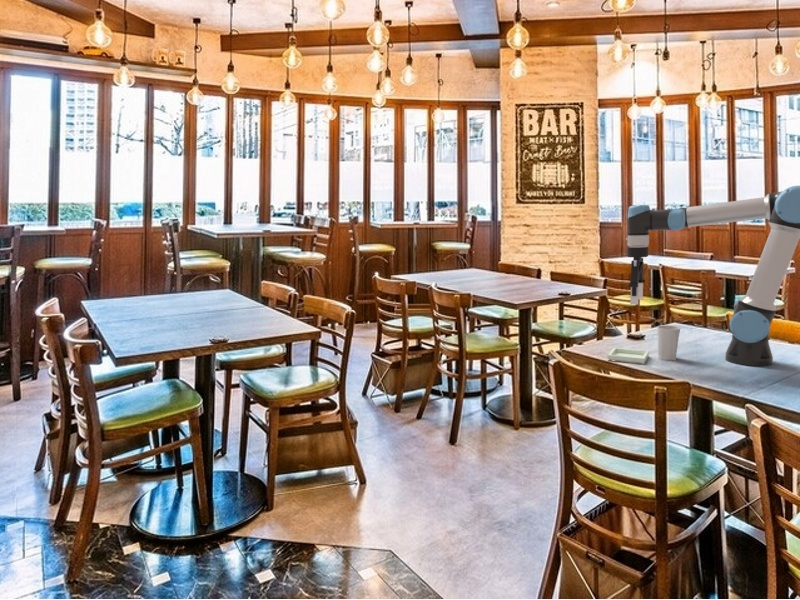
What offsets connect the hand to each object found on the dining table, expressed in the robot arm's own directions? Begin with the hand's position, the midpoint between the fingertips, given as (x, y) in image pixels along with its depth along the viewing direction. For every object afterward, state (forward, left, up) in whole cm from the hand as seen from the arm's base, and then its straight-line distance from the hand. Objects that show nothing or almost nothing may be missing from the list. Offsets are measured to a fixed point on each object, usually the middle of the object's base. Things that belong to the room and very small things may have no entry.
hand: (636, 301), depth 221 cm
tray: (+2, +4, -22) cm, 22 cm away
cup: (-11, -3, -22) cm, 25 cm away
